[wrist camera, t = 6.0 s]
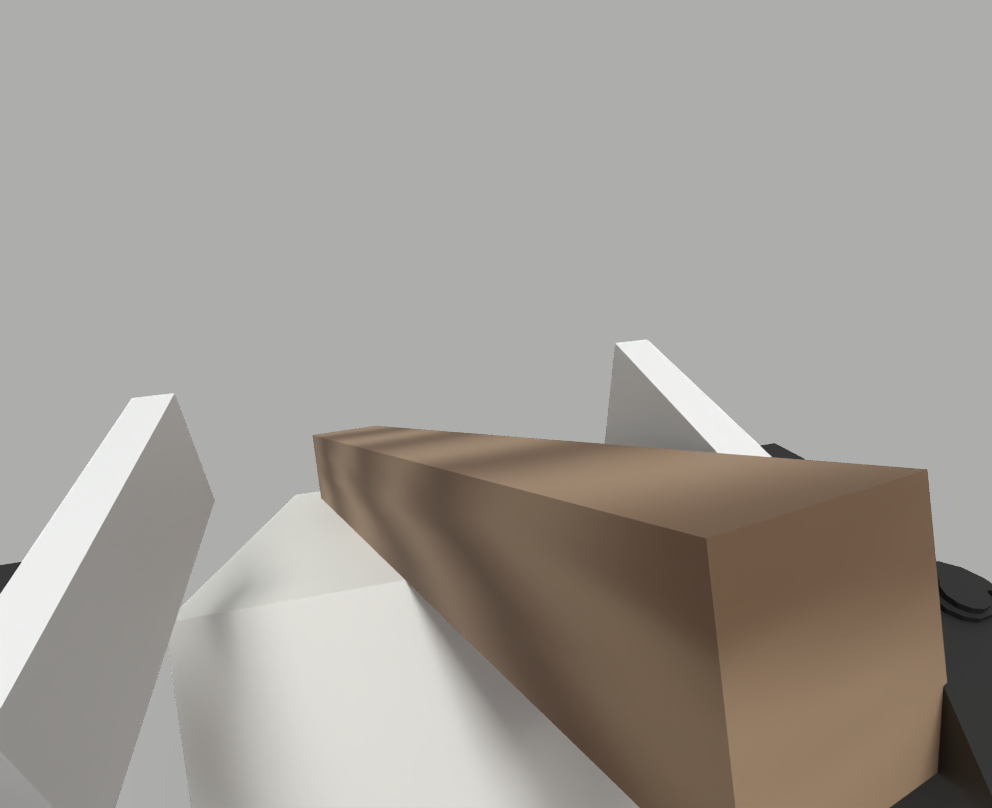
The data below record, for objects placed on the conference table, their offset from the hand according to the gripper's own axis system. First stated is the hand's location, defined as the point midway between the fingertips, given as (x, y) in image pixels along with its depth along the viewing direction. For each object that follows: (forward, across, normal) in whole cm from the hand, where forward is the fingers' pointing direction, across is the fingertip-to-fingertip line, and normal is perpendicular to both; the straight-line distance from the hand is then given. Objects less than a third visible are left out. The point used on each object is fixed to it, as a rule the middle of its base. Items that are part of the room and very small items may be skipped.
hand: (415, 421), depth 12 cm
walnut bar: (+1, 0, -5) cm, 5 cm away
